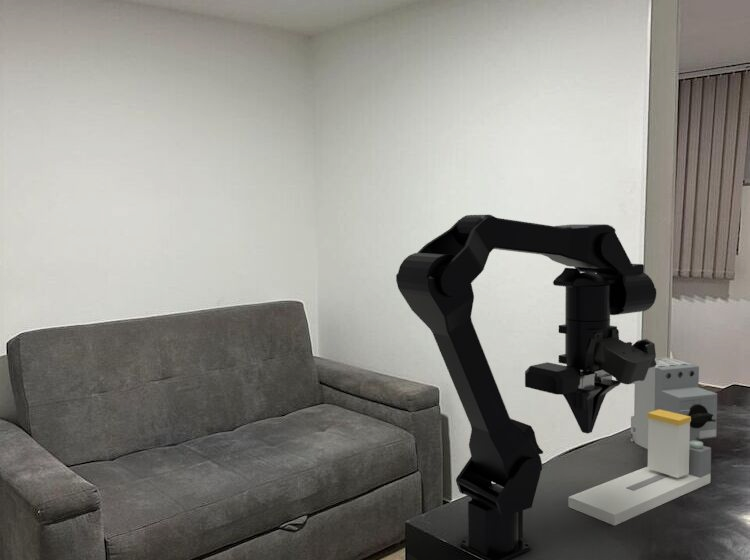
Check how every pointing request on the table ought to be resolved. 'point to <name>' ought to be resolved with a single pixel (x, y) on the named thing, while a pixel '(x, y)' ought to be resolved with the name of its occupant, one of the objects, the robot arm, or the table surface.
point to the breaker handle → (668, 442)
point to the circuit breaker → (674, 399)
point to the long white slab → (643, 489)
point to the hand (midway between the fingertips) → (586, 432)
